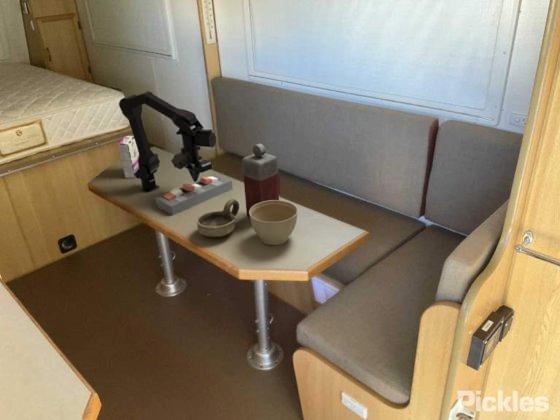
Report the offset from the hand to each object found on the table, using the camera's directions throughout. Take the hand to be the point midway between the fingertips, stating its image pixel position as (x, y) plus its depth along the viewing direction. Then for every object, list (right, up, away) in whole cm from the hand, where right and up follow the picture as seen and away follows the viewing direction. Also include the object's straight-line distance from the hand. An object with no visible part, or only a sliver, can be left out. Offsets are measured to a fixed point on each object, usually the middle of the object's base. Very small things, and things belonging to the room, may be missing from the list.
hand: (195, 181), depth 193 cm
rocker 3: (+5, +1, +5) cm, 7 cm away
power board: (0, -7, 0) cm, 7 cm away
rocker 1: (-8, -6, -6) cm, 11 cm away
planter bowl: (+33, -22, -30) cm, 49 cm away
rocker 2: (-1, -3, 0) cm, 3 cm away
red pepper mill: (+29, -13, -15) cm, 35 cm away
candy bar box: (-33, +5, +25) cm, 42 cm away
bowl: (+14, -19, -24) cm, 34 cm away
